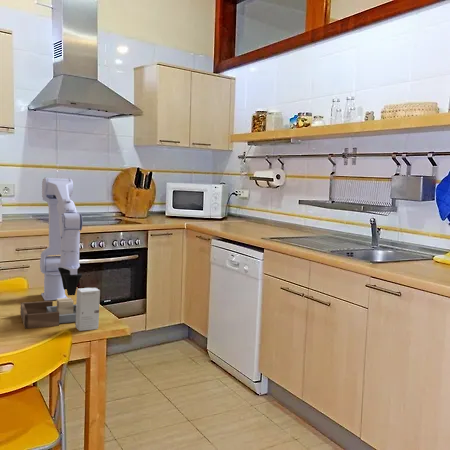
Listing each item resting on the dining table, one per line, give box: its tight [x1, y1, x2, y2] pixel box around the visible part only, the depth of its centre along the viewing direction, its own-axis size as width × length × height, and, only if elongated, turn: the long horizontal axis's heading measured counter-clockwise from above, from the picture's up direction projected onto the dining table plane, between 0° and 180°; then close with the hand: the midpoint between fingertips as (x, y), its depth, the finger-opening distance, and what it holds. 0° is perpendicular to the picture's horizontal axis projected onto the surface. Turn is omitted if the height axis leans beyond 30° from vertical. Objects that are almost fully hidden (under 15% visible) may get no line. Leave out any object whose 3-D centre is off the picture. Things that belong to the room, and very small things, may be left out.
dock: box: [20, 300, 60, 329], centre depth 153 cm, size 14×10×4 cm
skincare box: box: [75, 287, 101, 332], centre depth 148 cm, size 6×4×12 cm
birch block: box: [56, 297, 75, 315], centre depth 156 cm, size 4×4×5 cm
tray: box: [46, 304, 76, 324], centre depth 157 cm, size 13×14×4 cm
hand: (69, 292), depth 156 cm, fingers open, 7 cm apart
